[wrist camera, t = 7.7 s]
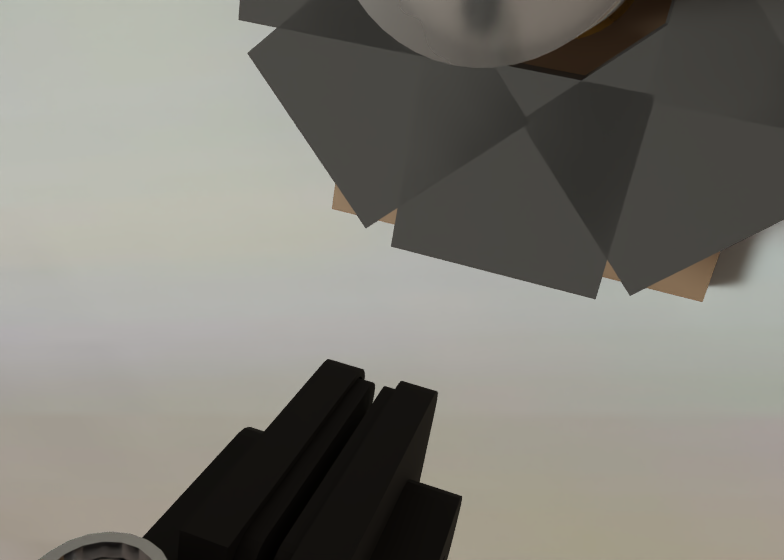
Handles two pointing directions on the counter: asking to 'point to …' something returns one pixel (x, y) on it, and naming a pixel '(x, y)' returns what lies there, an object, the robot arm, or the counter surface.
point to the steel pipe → (491, 27)
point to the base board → (581, 60)
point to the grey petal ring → (545, 141)
